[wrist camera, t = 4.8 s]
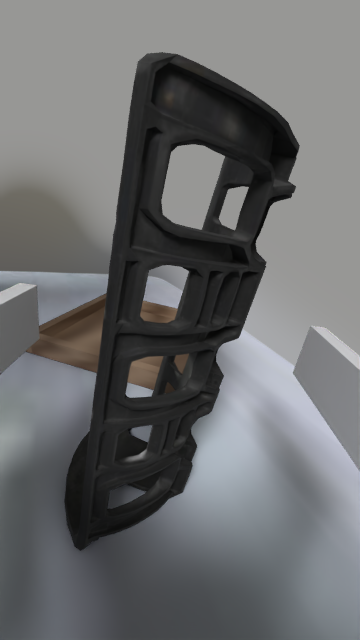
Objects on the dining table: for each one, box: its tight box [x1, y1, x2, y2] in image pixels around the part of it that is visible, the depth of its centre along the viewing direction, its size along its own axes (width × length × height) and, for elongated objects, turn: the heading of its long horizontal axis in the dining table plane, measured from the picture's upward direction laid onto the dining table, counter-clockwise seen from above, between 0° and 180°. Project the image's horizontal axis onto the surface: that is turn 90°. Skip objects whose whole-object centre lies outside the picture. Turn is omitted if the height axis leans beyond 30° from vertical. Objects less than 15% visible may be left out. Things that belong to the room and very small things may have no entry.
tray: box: [26, 293, 189, 393], centre depth 35 cm, size 18×18×2 cm
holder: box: [65, 52, 299, 551], centre depth 15 cm, size 11×8×20 cm
